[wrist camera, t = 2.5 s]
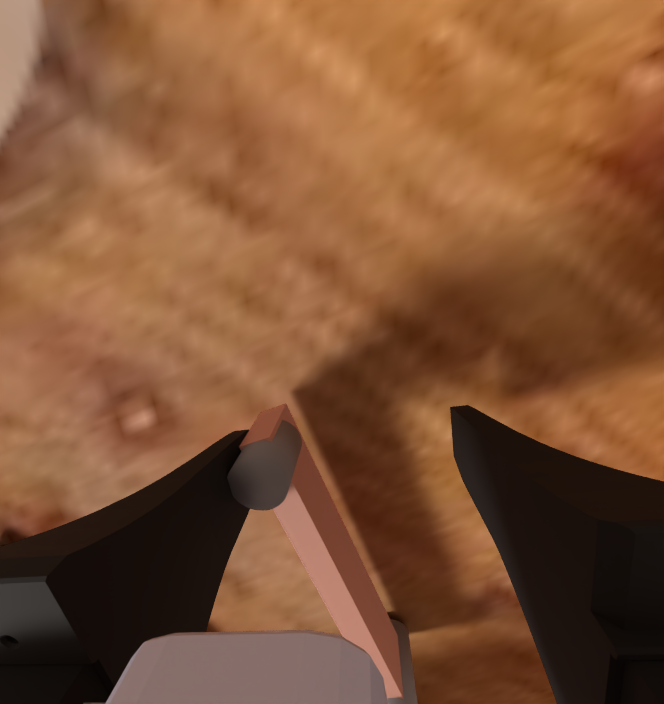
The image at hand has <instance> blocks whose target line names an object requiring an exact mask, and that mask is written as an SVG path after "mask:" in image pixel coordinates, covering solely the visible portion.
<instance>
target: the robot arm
mask: <svg viewBox="0 0 664 704" xmlns="http://www.w3.org/2000/svg"><path fill="white" fill-rule="evenodd" d="M450 410H451V424H452V438H453V452H454V458H455V461H456V463H457V466H458V469H459V472H460V474H461V477H462V480H463V482H464V484H465V486H466V488H467V490H468V492H469V494H470V496H471V498H472V500H473V502H474V503H475V505H476V507H477V509H478V511H479V513H480V515H481V517H482V519H483V521H484V523H485V525H486V526H487V528H488V530H489V532H490V534H491V536H492V538H493V540H494V542H495V544H496V546H497V548H498V551H499V553H500V555H501V557H502V560H503V562H504V565H505V567H506V570H507V572H508V575H509V577H510V580H511V582H512V585H513V587H514V590H515V592H516V595H517V597H518V600H519V602H520V605H521V607H522V610H523V613H524V615H525V618H526V620H527V623H528V625H529V628H530V631H531V633H532V636H533V639H534V642H535V644H536V647H537V650H538V652H539V655H540V658H541V660H542V663H543V666H544V668H545V671H546V674H547V676H548V679H549V682H550V685H551V688H552V691H553V693H554V696H555V699H556V702H557V704H664V481H660V480H655V479H651V478H647V477H643V476H639V475H635V474H631V473H628V472H624V471H620V470H617V469H613V468H610V467H607V466H603V465H600V464H597V463H594V462H590V461H587V460H585V459H582V458H579V457H576V456H573V455H570V454H568V453H565V452H563V451H560V450H557V449H555V448H552V447H550V446H547V445H545V444H543V443H540V442H538V441H536V440H534V439H532V438H530V437H527V436H525V435H523V434H521V433H519V432H517V431H515V430H513V429H511V428H509V427H507V426H505V425H504V424H502V423H500V422H498V421H496V420H494V419H493V418H491V417H489V416H487V415H485V414H484V413H482V412H480V411H478V410H476V409H475V408H473V407H471V406H469V405H465V406H456V407H450ZM248 432H249V430H241V431H234V432H232V433H230V434H228V435H227V436H225V437H223V438H222V439H220V440H219V441H217V442H216V443H214V444H213V445H211V446H210V447H208V448H207V449H206V450H204V451H203V452H201V453H200V454H198V455H197V456H195V457H194V458H192V459H191V460H189V461H188V462H186V463H185V464H183V465H182V466H180V467H178V468H177V469H175V470H174V471H172V472H171V473H169V474H167V475H166V476H164V477H163V478H161V479H159V480H157V481H156V482H154V483H152V484H151V485H149V486H147V487H145V488H143V489H141V490H139V491H138V492H136V493H134V494H132V495H130V496H128V497H126V498H124V499H122V500H119V501H117V502H115V503H113V504H111V505H109V506H107V507H105V508H103V509H101V510H98V511H96V512H94V513H91V514H89V515H87V516H84V517H82V518H80V519H77V520H75V521H72V522H70V523H67V524H64V525H62V526H59V527H57V528H54V529H51V530H49V531H46V532H43V533H40V534H37V535H34V536H31V537H28V538H25V539H22V540H20V541H17V542H14V543H11V544H8V545H5V546H1V547H0V704H389V703H388V700H387V695H386V690H385V684H384V679H383V676H382V675H381V673H380V671H379V670H378V668H377V666H376V665H375V663H374V661H373V660H372V658H371V656H370V655H369V654H368V653H367V652H366V651H365V650H364V649H363V648H361V647H359V646H357V645H356V644H354V643H352V642H351V641H349V640H347V639H345V638H344V637H342V636H340V635H337V634H331V633H324V632H318V631H312V630H283V631H236V632H206V629H207V626H208V622H209V619H210V615H211V612H212V609H213V605H214V602H215V598H216V595H217V592H218V589H219V586H220V583H221V580H222V576H223V573H224V570H225V567H226V565H227V562H228V559H229V557H230V554H231V552H232V549H233V547H234V545H235V543H236V540H237V538H238V536H239V533H240V531H241V529H242V526H243V524H244V522H245V519H246V517H247V515H248V512H249V510H250V508H248V507H245V506H244V505H242V504H240V503H239V502H238V501H237V500H236V499H235V498H234V497H233V495H232V492H231V489H230V486H229V482H228V479H227V477H228V473H229V471H230V470H231V468H232V466H233V465H234V463H235V461H236V460H237V458H238V456H239V455H240V453H241V450H240V448H239V446H240V444H241V443H242V441H243V439H244V438H245V436H246V435H247V433H248Z"/></svg>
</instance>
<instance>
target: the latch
mask: <svg viewBox="0 0 664 704" xmlns="http://www.w3.org/2000/svg"><path fill="white" fill-rule="evenodd" d="M239 448H240V450H241V453H240V455H239V456H238V458H237V460H236V461H235V463H234V465H233V466H232V468H231V470H230V471H229V473H228V477H227V479H228V482H229V486H230V489H231V492H232V495H233V497H234V498H235V499H236V500H237V501H238V502H239V503H240V504H242V505H244V506H245V507H248V508H250V509H254V510H270V509H273V510H274V512H275V514H276V516H277V517H278V519H279V521H280V523H281V525H282V527H283V528H284V530H285V532H286V534H287V536H288V537H289V539H290V541H291V543H292V545H293V547H294V548H295V550H296V552H297V554H298V556H299V558H300V559H301V561H302V563H303V565H304V567H305V569H306V570H307V572H308V574H309V576H310V578H311V579H312V581H313V583H314V585H315V587H316V589H317V590H318V592H319V594H320V596H321V598H322V600H323V601H324V603H325V605H326V607H327V609H328V610H329V612H330V614H331V616H332V618H333V620H334V621H335V623H336V625H337V627H338V629H339V631H340V632H341V634H342V636H343V637H344V638H345V639H347V640H349V641H351V642H352V643H354V644H356V645H357V646H359V647H361V648H363V649H364V650H365V651H366V652H367V653H368V654H369V655H370V656H371V658H372V660H373V661H374V663H375V665H376V666H377V668H378V670H379V671H380V673H381V675H382V676H383V679H384V684H385V690H386V695H387V700H388V703H389V704H418V703H417V695H416V688H415V680H414V672H413V664H412V656H411V649H410V641H409V633H408V629H407V627H406V626H405V625H404V624H403V623H401V622H399V621H396V620H391V619H389V616H388V614H387V612H386V610H385V608H384V606H383V604H382V602H381V600H380V598H379V596H378V594H377V592H376V589H375V587H374V585H373V583H372V581H371V579H370V577H369V575H368V573H367V571H366V569H365V567H364V565H363V562H362V560H361V558H360V556H359V554H358V552H357V550H356V548H355V546H354V544H353V542H352V540H351V538H350V535H349V533H348V531H347V529H346V527H345V525H344V523H343V521H342V519H341V517H340V515H339V513H338V511H337V508H336V506H335V504H334V502H333V500H332V498H331V496H330V494H329V492H328V490H327V488H326V486H325V484H324V481H323V479H322V477H321V475H320V473H319V471H318V469H317V467H316V465H315V463H314V461H313V459H312V456H311V454H310V452H309V450H308V448H307V446H306V444H305V442H304V440H303V438H302V436H301V434H300V432H299V429H298V427H297V425H296V423H295V421H294V419H293V417H292V415H291V413H290V411H289V409H288V407H287V405H286V404H283V405H280V406H277V407H274V408H272V409H269V410H266V411H263V412H261V413H260V414H259V416H258V417H257V419H256V420H255V422H254V424H253V425H252V427H251V428H250V430H249V432H248V433H247V435H246V436H245V438H244V439H243V441H242V443H241V444H240V446H239Z"/></svg>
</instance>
